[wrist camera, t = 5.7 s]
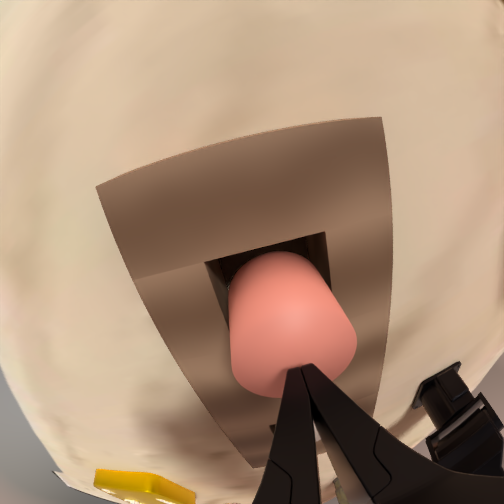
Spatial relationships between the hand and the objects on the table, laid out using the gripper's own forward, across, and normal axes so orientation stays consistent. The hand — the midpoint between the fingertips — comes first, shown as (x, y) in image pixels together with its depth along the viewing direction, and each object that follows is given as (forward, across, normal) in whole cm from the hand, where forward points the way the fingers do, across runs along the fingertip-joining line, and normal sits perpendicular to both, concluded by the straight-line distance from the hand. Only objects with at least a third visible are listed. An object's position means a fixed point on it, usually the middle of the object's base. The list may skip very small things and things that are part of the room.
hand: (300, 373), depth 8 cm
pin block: (+9, 0, +7) cm, 11 cm away
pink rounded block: (+5, 0, 0) cm, 5 cm away
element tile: (+9, +31, +40) cm, 51 cm away
